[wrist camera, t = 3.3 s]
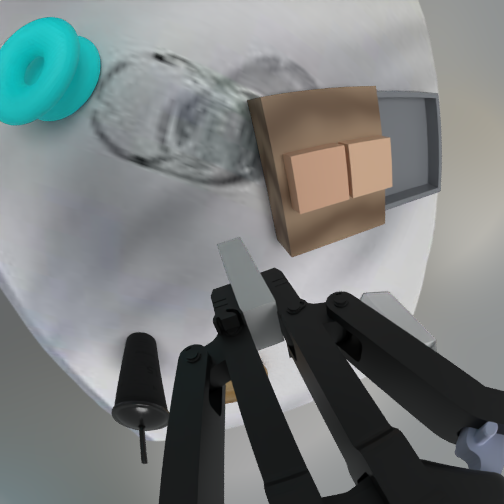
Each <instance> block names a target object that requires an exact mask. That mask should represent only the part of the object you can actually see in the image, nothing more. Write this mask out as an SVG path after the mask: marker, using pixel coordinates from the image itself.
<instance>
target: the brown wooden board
mask: <svg viewBox="0 0 504 504" xmlns="http://www.w3.org/2000/svg"><path fill="white" fill-rule="evenodd" d="M247 102H248V106H249V110H250V114H251V119H252V123H253V127H254V132H255V136H256V141H257V145H258V150H259V154H260V159H261V163H262V168H263V173H264V177H265V182H266V187H267V191H268V196H269V201H270V206H271V211H272V216H273V221H274V226H275V231H276V236H277V240H278V241H279V242H280V243H281V245H282V246H283V247H284V248H285V250H286V251H287V252H288V253H289V255H290V256H291V257H294V256H297V255H300V254H303V253H306V252H308V251H311V250H314V249H317V248H320V247H322V246H325V245H328V244H331V243H334V242H336V241H339V240H342V239H345V238H347V237H350V236H353V235H356V234H358V233H361V232H364V231H366V230H369V229H372V228H374V227H377V226H380V225H383V224H385V189H383V190H380V191H376V192H373V193H369V194H366V195H363V196H359V197H356V198H352V197H350V196H349V200H346V201H343V202H339V203H336V204H333V205H329V206H326V207H323V208H320V209H316V210H313V211H310V212H307V213H303V214H299V213H298V212H297V211H295V210H294V209H293V208H292V203H291V197H290V191H289V185H288V180H287V174H286V169H285V163H284V158H283V153H287V152H292V151H296V150H301V149H305V148H310V147H315V146H319V145H324V144H329V143H338V142H340V141H346V140H351V139H357V138H364V137H370V136H377V135H381V136H382V130H381V120H380V112H379V104H378V97H377V91H376V86H358V87H338V88H325V89H315V90H305V91H297V92H290V93H283V94H277V95H271V96H265V97H259V98H255V99H251V100H247Z"/></svg>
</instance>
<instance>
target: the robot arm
mask: <svg viewBox="0 0 504 504" xmlns="http://www.w3.org/2000/svg"><path fill="white" fill-rule="evenodd" d="M217 246H218V249H219V252H220V255H221V258H222V261H223V264H224V267H225V270H226V273H227V276H228V279H229V282H230V284H228V285H225V286H222V287H219V288H216V289H213V291H212V294H211V299H212V303H213V307H214V311H215V316H214V318H213V324H214V326H215V328H216V330H217V332H218V335H217V337H216V338H215V339H214V340H213V341H212V342H211V343H209V344H208V345H206V346H202V345H197V344H194V345H191V346H188V347H186V348H185V349H184V350H183V351H182V352H181V353H180V356H179V359H178V365H177V370H176V376H175V382H174V388H173V394H172V400H171V406H170V413H169V420H168V427H167V434H166V441H165V450H164V457H163V467H162V475H161V486H160V496H159V504H224V436H225V433H224V432H225V394H226V383H228V382H229V381H231V382H232V385H233V388H234V392H235V395H236V399H237V402H238V405H239V409H240V412H241V415H242V418H243V422H244V425H245V428H246V431H247V434H248V437H249V440H250V443H251V446H252V449H253V452H254V455H255V458H256V461H257V464H258V467H259V470H260V472H261V475H262V478H263V481H264V489H265V493H266V496H267V499H268V502H269V504H504V477H503V476H502V475H501V472H502V469H503V466H504V391H500V390H497V389H493V388H489V387H485V386H483V385H482V384H481V383H479V382H478V381H477V380H475V379H474V378H472V377H471V376H470V375H468V374H467V373H465V372H464V371H462V370H461V369H460V368H458V367H457V366H456V365H454V364H453V363H451V362H450V361H448V360H447V359H446V358H444V357H443V356H441V355H440V354H439V353H437V352H436V351H434V350H433V349H431V348H430V347H428V346H427V345H426V344H424V343H423V342H421V341H420V340H418V339H417V338H415V337H414V336H412V335H411V334H410V333H408V332H407V331H405V330H404V329H402V328H401V327H399V326H398V325H396V324H395V323H393V322H392V321H390V320H389V319H387V318H386V317H384V316H383V315H382V314H380V313H379V312H377V311H376V310H374V309H373V308H371V307H370V306H368V305H367V304H365V303H364V302H362V301H361V300H359V299H358V298H356V297H355V296H353V295H352V294H350V293H347V292H335V293H333V294H331V295H330V296H329V297H328V298H327V300H326V302H324V303H317V304H311V303H307V302H306V301H305V300H303V299H300V298H299V296H298V295H297V293H296V292H295V290H294V289H293V287H292V286H291V285H290V283H289V282H288V280H287V279H286V278H285V276H284V274H283V273H282V271H280V270H278V269H276V268H272V269H270V270H267V271H264V272H261V273H260V272H259V270H258V268H257V267H256V265H255V263H254V261H253V259H252V258H251V256H250V254H249V252H248V250H247V249H246V247H245V245H244V243H243V241H242V240H241V238H240V237H238V238H235V239H232V240H229V241H226V242H223V243H220V244H217ZM283 336H284V337H283ZM284 338H285V340H286V342H287V347H288V352H289V356H290V358H291V357H292V358H293V360H294V362H295V364H296V366H297V368H298V370H299V372H300V374H301V376H302V378H303V380H304V382H305V384H306V386H307V388H308V390H309V391H310V393H311V395H312V397H313V399H314V401H315V403H316V405H317V407H318V409H319V411H320V413H321V415H322V417H323V419H324V420H325V423H326V425H327V426H328V428H329V430H330V432H331V434H332V436H333V438H334V440H335V442H336V444H337V446H338V448H339V450H340V451H341V453H342V455H343V457H344V459H345V461H346V463H347V466H348V470H349V473H350V475H351V477H352V479H353V481H354V482H355V484H356V486H355V487H354V488H352V489H351V490H350V491H348V492H346V493H342V494H337V495H332V496H327V497H322V498H321V496H320V493H319V492H318V490H317V487H316V485H315V483H314V481H313V479H312V477H311V474H310V472H309V471H308V469H307V467H306V464H305V462H304V460H303V458H302V456H301V453H300V451H299V449H298V447H297V445H296V442H295V440H294V438H293V435H292V433H291V431H290V429H289V426H288V424H287V421H286V419H285V417H284V414H283V412H282V410H281V407H280V405H279V402H278V400H277V398H276V395H275V393H274V390H273V388H272V386H271V383H270V381H269V378H268V376H267V373H266V371H265V368H264V366H263V364H262V361H261V359H260V356H259V354H258V350H261V349H264V348H266V347H269V346H272V345H275V344H277V343H280V342H283V341H284ZM346 359H347V360H348V361H349V362H350V363H351V364H353V365H354V366H355V367H356V368H357V369H358V370H360V371H361V372H362V373H363V374H364V375H365V376H367V377H368V378H369V379H370V380H371V381H372V382H374V383H375V384H376V385H377V386H378V387H379V388H381V389H382V390H383V391H384V392H385V393H387V394H388V395H389V396H390V397H391V398H393V399H394V400H395V401H396V402H397V403H399V404H400V405H401V406H402V407H403V408H404V409H406V410H407V411H408V412H409V413H410V414H412V415H413V416H414V417H415V418H416V419H418V420H419V421H420V422H421V423H423V424H424V425H425V426H426V427H427V428H429V429H430V430H431V431H432V432H433V433H435V434H436V435H438V436H439V437H441V438H442V439H444V440H446V441H448V442H450V443H453V444H456V450H455V455H456V456H457V457H459V458H461V459H462V460H464V461H465V462H466V463H467V464H468V467H469V469H466V468H460V467H455V466H449V465H444V464H440V463H436V462H431V461H427V460H422V459H419V457H418V456H417V454H416V453H415V451H414V450H413V448H412V447H411V445H410V443H409V442H408V440H407V439H406V438H405V436H404V435H403V433H402V432H401V431H400V430H399V429H397V428H394V427H392V426H390V424H389V423H388V422H387V420H386V419H385V417H384V416H383V414H382V413H381V411H380V409H379V408H378V406H377V405H376V404H375V402H374V400H373V399H372V397H371V396H370V394H369V393H368V391H367V390H366V388H365V387H364V386H363V384H362V382H361V381H360V379H359V378H358V376H357V375H356V373H355V372H354V370H353V369H352V367H351V366H350V364H349V363H348V361H347V360H346Z"/></svg>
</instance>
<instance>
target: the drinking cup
mask: <svg viewBox="0 0 504 504" xmlns="http://www.w3.org/2000/svg"><path fill="white" fill-rule="evenodd" d="M112 417H113V418H114V419H115V421H117V422H118V423H119V424H121V425H123V426H125V427H128V428H131V429H135V430H139V435H140V449H141V461H142V463H143V464H147V454H146V444H145V443H146V442H145V431H150V430H157V429H161V428H164V427H166V426H167V425H168V420H169V411H168V410H167V405H166V400H165V395H164V389H163V384H162V378H161V372H160V366H159V360H158V353H157V346H156V341H155V340H154V338H153V337H152V336H150V335H148V334H146V333H133V334H131V335H130V336H129V337H128V338H127V341H126V345H125V350H124V355H123V360H122V365H121V370H120V375H119V381H118V387H117V393H116V399H115V406H114V407H113V409H112Z"/></svg>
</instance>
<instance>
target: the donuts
mask: <svg viewBox="0 0 504 504" xmlns="http://www.w3.org/2000/svg"><path fill="white" fill-rule="evenodd" d="M100 68H101V63H100V56H99V53H98V50H97V48H96V47H95V45H94V44H93V43H92V42H91V41H89V40H88V39H86V38H84V37H81V36H77V33H76V31H75V29H74V28H73V27H72V26H71V25H70V24H69V23H68V22H66V21H65V20H63V19H60V18H55V17H46V18H41V19H37V20H35V21H32V22H30V23H28V24H26V25H24V26H23V27H21V28H20V29H19V30H17V31H16V32H15V33H14V34H13V35H12V36H11V37H10V38H9V39H8V40H7V41H6V42H5V43H4V45H3V46H2V47H1V49H0V121H1V122H3V123H5V124H8V125H23V124H27V123H30V122H32V121H34V120H36V119H39V120H42V121H56V120H60V119H63V118H65V117H67V116H69V115H71V114H73V113H74V112H75V111H77V110H78V109H79V108H80V107H81V106H82V105H83V104H84V103H85V102H86V101H87V100H88V98H89V97H90V96H91V94H92V92H93V91H94V89H95V87H96V84H97V82H98V79H99V75H100Z"/></svg>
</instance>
